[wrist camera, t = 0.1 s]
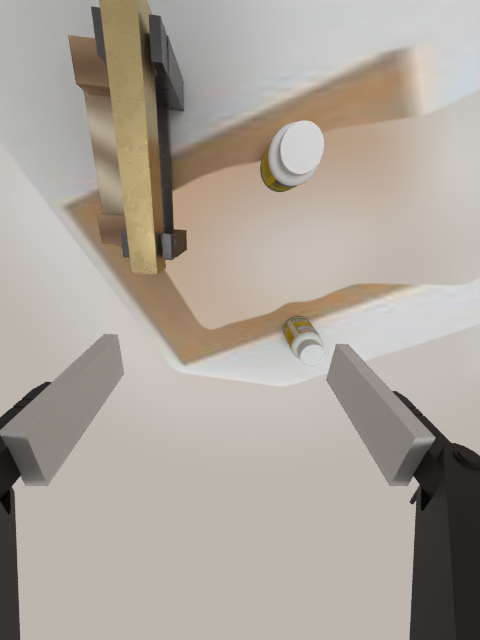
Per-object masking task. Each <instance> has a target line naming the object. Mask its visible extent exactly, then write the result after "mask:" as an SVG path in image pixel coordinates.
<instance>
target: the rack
mask: <svg viewBox="0 0 480 640" xmlns="http://www.w3.org/2000/svg"><path fill="white" fill-rule="evenodd" d="M91 9H92V16H93V24H94V32H95V40H96V47H97V55H98V56H99V57H100V59H101V60H102V61H103V62H104V64H105V65H106V66H107V60H106V52H105V43H104V35H103V27H102V18H101V10H100V8H98V7H91ZM148 15H149V14H148ZM149 31H150V47H151V62H152V64H153V66H154V73H155V90H156V107H157V125H158V142H159V160H160V177H161V194H162V212H163V229H164V234H162V245H163V260H173V259H174V258H175V257H177V256H179V255H180V254H181V253H183V252H184V251H186V250H187V245H186V244H187V242H186V230H174V229H173V203H172V177H171V153H170V129H169V109H171V110H180V111H184V94H183V79H182V76H181V73H180V70H179V67H178V64H177V61H176V58H175V55H174V52H173V49H172V46H171V43H170V40H169V37H168V36H167V34H166V32H165V29H164V26H163V23H162V20H161V17H160V16H156V15H149ZM120 233H121V241H122V249H123V257H130V255H129V246H128V238H127V230H123V231H120Z"/></svg>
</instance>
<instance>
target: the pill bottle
mask: <svg viewBox="0 0 480 640" xmlns="http://www.w3.org/2000/svg"><path fill="white" fill-rule="evenodd" d="M323 151H324V139H323V135H322V132H321V130H320V129H319V127H318V126H317V125H316V124H314V123H313V122H310V121H306V120H302V121H298V122H293V123H290V124H287V125H285V126H284V127H282V128H281V129H280V130H279V131H278V132H277V133H276V135H275V136H274V138H273V139H272V141H271V143H270V144H269V146H268V148H267V150H266V152H265V153H264V155H263V158H262V161H261V166H260V172H261V177H262V180H263V182H264V183H265V185H266V186H267V187H268V188H269V189H271V190H273V191H276V192H284V191H287V190H289V189H292V188H293V187H296V186H298V185H300V184H302V183H304V182H305V181H307V180H308V179H309V178H310V177H311V176H312V175H313V173H314V172H315V171H316V169H317V167H318V164H319V162H320V160H321V158H322V155H323Z"/></svg>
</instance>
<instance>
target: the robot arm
mask: <svg viewBox="0 0 480 640" xmlns="http://www.w3.org/2000/svg"><path fill="white" fill-rule="evenodd" d="M123 374H124V370H123V364H122V358H121V351H120V346H119V339H118V335H113V334H104V335H103V336H102V337H101V338H99V339H98V340H97V341H96V342H95V343H94V344H93V345H92V346H91V347H90V348H89V349H88V350H86V351H85V352H84V353H83V354H82V355H81V356H80V357H79V358H78V359H77V360H76V361H75V362H73V363H72V364H71V365H70V366H69V367H68V368H67V369H66V370H65V371H64V372H63V373H62V374H61V375H59V376H58V377H57V378H56V379H55V380H54V381H53V382H45V383H44V384H42V385H40V386H38V387H36V388H34V389H33V390H31V391H30V392H29V393H28V394H27V395H26V396H25V397H23V398H22V400H20V401H19V402H18V403H16V404H15V405H14V406H13V408H11V409H10V410H8V411H7V412H6V413H5V414H4V415H3V416H1V417H0V640H20V623H19V600H18V598H19V597H18V572H17V546H16V521H15V496H14V490H13V488H12V485H13V484H14V483H15V482H16V480H17V479H18V478H19V477H20V476H21V477H22V480H23V482H24V484H25V486H48V485H49V483H50V482H51V480H52V478H53V477H54V476H55V474H56V473H57V472H58V470H59V469H60V467H61V466H62V464H63V463H64V461H65V460H66V458H67V457H68V455H69V454H70V452H71V451H72V449H73V448H74V446H75V445H76V444H77V442H78V440H79V439H80V438H81V436H82V435H83V433H84V432H85V430H86V429H87V427H88V426H89V424H90V423H91V421H92V420H93V418H94V417H95V416H96V414H97V413H98V411H99V410H100V408H101V407H102V405H103V403H104V402H105V401H106V399H107V398H108V396H109V395H110V393H111V392H112V391H113V389H114V388H115V386H116V385H117V383H118V382H119V380H120V379H121V377H122V376H123ZM326 380H327V382H328V383H329V385H330V387H331V388H332V390H333V392H334V394H335V395H336V397H337V398H338V400H339V402H340V404H341V405H342V407H343V408H344V410H345V412H346V414H347V415H348V417H349V419H350V420H351V422H352V423H353V425H354V427H355V428H356V430H357V432H358V434H359V435H360V437H361V439H362V440H363V442H364V444H365V445H366V447H367V448H368V450H369V452H370V454H371V455H372V457H373V459H374V460H375V462H376V464H377V465H378V467H379V469H380V470H381V472H382V474H383V475H384V477H385V479H386V480H387V482H388V483H389V485H390V486H408V484H409V482H410V481H411V479H412V477H413V476H414V477H415V478H416V480H417V481H418V482H419V484H420V485H419V487H418V489H417V490H416V492H415V493H414V495H413V497H412V498H411V501H410V503H411V504H414V502H415V501H416V519H415V539H414V560H413V580H412V582H413V583H412V600H411V622H410V640H480V456H479V455H478V454H476V453H475V452H474V451H472V450H470V449H468V448H466V447H465V446H462V445H459V444H456V443H451V442H450V441H449V440H448V439H447V438H446V437H445V436H444V435H443V434H442V433H441V432H440V431H439V430H438V429H437V428H436V427H435V426H434V425H433V424H432V423H431V422H430V421H429V420H428V419H427V418H426V417H425V416H423V414H422V413H421V412H420V411H419V410H418V409H416V407H415V406H414V405H413V404H412V403H411V402H410V401H409V400H408V399H407V398H406V397H404V396H403V395H401V394H399V393H398V392H397V391H391V390H390V389H389V387H388V386H387V385H386V384H385V383H384V382H383V381H382V380H381V379H380V378H379V377H378V376H377V375H376V374H375V373H374V372H373V370H372V369H371V368H370V367H369V366H368V365H367V364H366V363H365V362H364V361H363V360H362V359H361V358H360V357H359V356H358V354H357V353H356V352H355V351H354V350H353V349H352V348H351V347H350V346H349V345H348V344H336V346H335V350H334V354H333V357H332V361H331V365H330V368H329V372H328V375H327V379H326Z"/></svg>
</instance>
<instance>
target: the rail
mask: <svg viewBox="0 0 480 640" xmlns="http://www.w3.org/2000/svg"><path fill="white" fill-rule="evenodd" d="M99 1H100V10H101V18H102V27H103V35H104V43H105V52H106V60H107V69H108V77H109V86H110V94H111V103H112V111H113V120H114V128H115V136H116V145H117V153H118V162H119V170H120V179H121V187H122V196H123V204H124V213H125V221H126V229H127V238H128V246H129V255H130V263H131V272H132V273H144V274H158V273H160V272H161V271H162V270H163V269H165V268H166V264H165V260H163V245H162V234H164V229H163V212H162V194H161V177H160V160H159V142H158V125H157V107H156V90H155V73H154V66H153V64H152V62H151V47H150V31H149V15H151V10H150V8H149V5H148V2H147V0H99ZM148 14H149V15H148Z"/></svg>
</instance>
